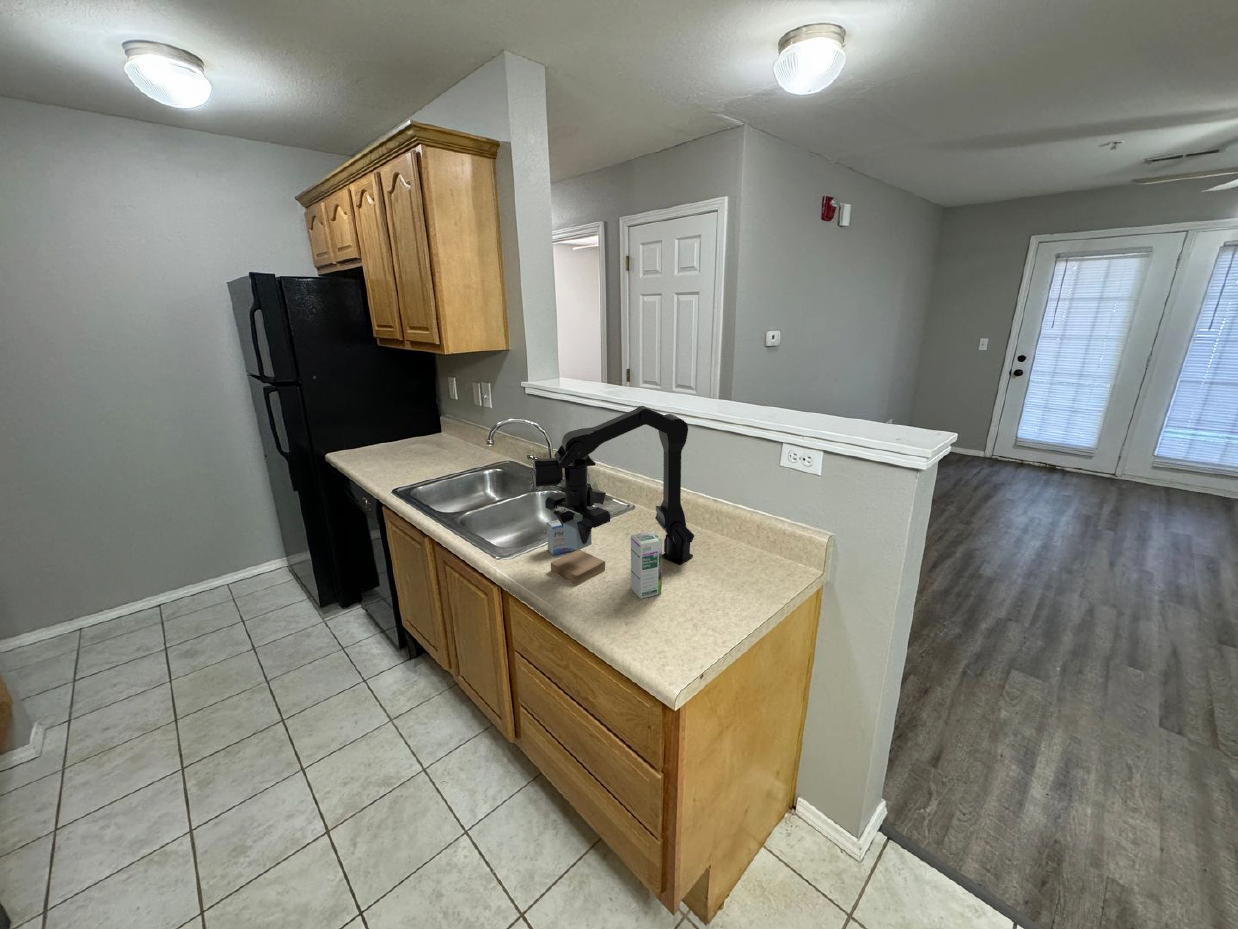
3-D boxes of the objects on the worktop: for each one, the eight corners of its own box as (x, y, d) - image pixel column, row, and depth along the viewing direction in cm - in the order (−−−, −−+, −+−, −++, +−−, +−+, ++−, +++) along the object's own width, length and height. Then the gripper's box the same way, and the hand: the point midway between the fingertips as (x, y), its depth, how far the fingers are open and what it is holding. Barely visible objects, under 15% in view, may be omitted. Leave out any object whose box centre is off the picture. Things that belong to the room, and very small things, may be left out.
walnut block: (605, 571, 132) (605, 561, 131) (577, 586, 125) (576, 576, 124) (579, 559, 138) (578, 549, 137) (551, 572, 131) (550, 562, 130)
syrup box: (640, 599, 119) (641, 544, 114) (629, 587, 124) (630, 533, 119) (661, 594, 121) (663, 539, 116) (650, 582, 126) (651, 529, 121)
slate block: (591, 544, 129) (591, 523, 127) (576, 551, 126) (576, 529, 124) (578, 538, 132) (578, 517, 131) (563, 544, 129) (563, 523, 127)
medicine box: (552, 556, 139) (551, 527, 136) (547, 549, 143) (546, 521, 140) (579, 549, 143) (578, 521, 140) (573, 543, 146) (572, 516, 144)
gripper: (626, 483, 123) (625, 541, 128) (575, 467, 136) (577, 520, 140) (593, 495, 116) (594, 556, 120) (542, 477, 128) (545, 533, 133)
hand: (577, 540), depth 129 cm, fingers closed on slate block, 5 cm apart
